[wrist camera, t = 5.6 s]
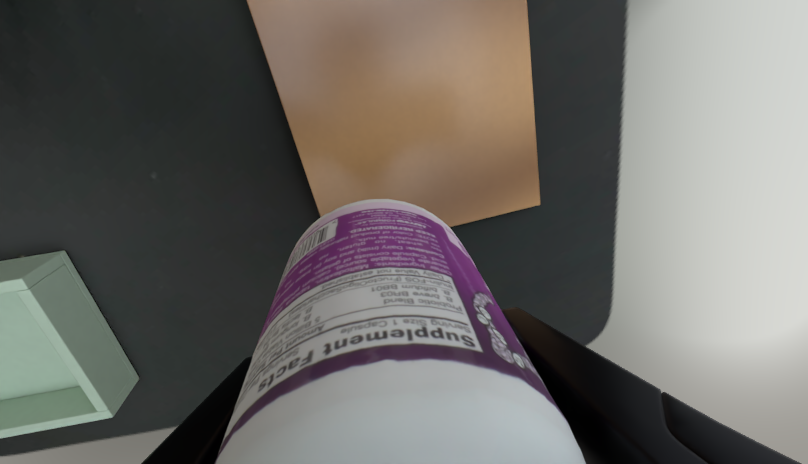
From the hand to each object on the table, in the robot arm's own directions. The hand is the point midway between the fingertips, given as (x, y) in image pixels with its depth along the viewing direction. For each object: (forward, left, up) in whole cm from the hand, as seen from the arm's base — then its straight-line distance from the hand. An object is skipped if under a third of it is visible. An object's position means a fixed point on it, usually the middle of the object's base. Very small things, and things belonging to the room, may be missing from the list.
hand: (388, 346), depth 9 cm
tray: (-11, +18, -13) cm, 25 cm away
